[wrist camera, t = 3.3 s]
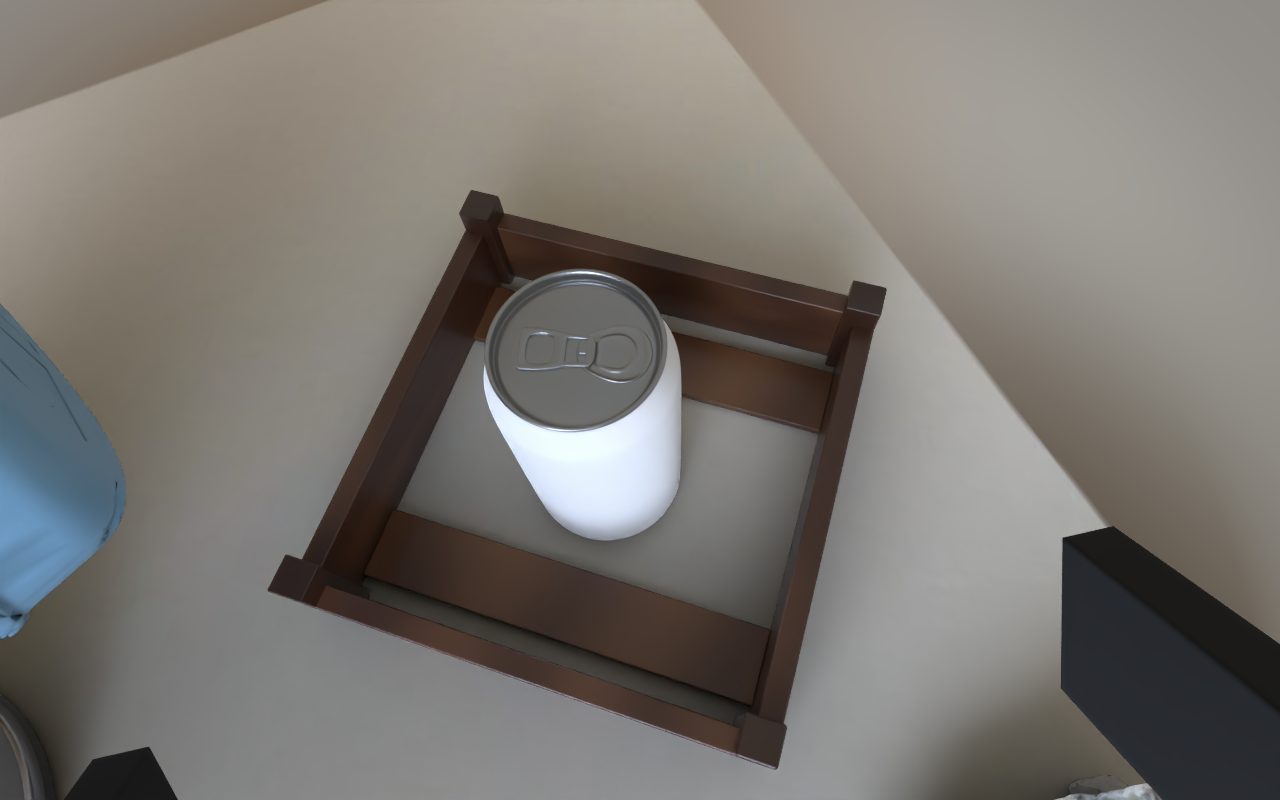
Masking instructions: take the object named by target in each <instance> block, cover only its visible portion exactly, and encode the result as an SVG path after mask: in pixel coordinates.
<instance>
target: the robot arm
mask: <svg viewBox="0 0 1280 800" xmlns="http://www.w3.org/2000/svg"><path fill="white" fill-rule="evenodd" d="M125 503H126V484H125V477H124V473H123V470H122V467H121V464H120V462H119V459H118V457H117V455H116V452H115V450H114V448H113V447H112V445H111V443H110V441H109V439H108V437H107V435H106V434H105V432H104V431H103V429H102V428H101V426H100V424H99V423H98V421H97V420H96V418H95V417H94V415H93V414H92V413H91V411H90V410H89V408H88V407H87V405H86V404H85V403H84V401H83V400H82V399H81V397H80V396H79V395H78V393H77V392H76V391H75V389H74V388H73V387H72V386H71V384H70V383H69V382H68V381H67V379H66V378H65V377H64V376H63V374H62V373H61V372H60V371H59V369H58V368H57V367H56V366H55V365H54V363H53V362H52V361H51V360H50V358H49V357H48V356H47V355H46V354H45V353H44V351H43V350H42V349H41V348H40V347H39V346H38V345H37V343H36V342H35V341H34V340H33V339H32V338H31V337H30V336H29V334H28V333H27V332H26V331H25V330H24V329H23V328H22V327H21V325H20V324H19V323H18V322H17V321H16V320H15V319H14V318H13V316H12V315H11V314H10V313H9V312H8V311H7V310H6V309H5V308H4V307H3V306H2V305H1V304H0V639H4V638H5V637H6V636H8V637H12V636H13V635H14V634H15V633H17V632H18V631H19V630H20V629H21V628H22V627H23V626H24V624H25V623H26V622H27V620H28V619H29V611H30V610H31V609H32V608H33V607H34V606H35V605H36V604H37V603H39V602H40V601H41V600H42V599H43V598H44V597H45V596H47V595H48V594H49V593H50V592H51V591H52V590H53V589H54V588H56V587H57V586H58V585H59V584H60V583H61V582H62V581H64V580H65V579H66V578H67V577H68V576H69V575H70V574H72V573H73V572H74V571H75V570H76V569H77V568H78V567H80V566H81V565H82V564H83V563H84V562H85V561H86V560H87V559H89V558H90V557H91V556H92V555H93V554H94V553H95V552H97V551H98V550H99V549H100V548H101V547H102V546H103V545H104V544H105V543H106V542H107V541H108V540H109V538H110V537H111V535H112V534H113V533H114V531H115V530H116V528H117V526H118V524H119V522H120V520H121V518H122V515H123V513H124V508H125ZM1061 689H1062V690H1063V691H1064V692H1065V693H1066V694H1067V696H1068V697H1069V698H1070V699H1071V700H1072V701H1073V702H1074V703H1075V704H1076V705H1077V707H1078V708H1079V709H1080V710H1081V711H1082V712H1083V713H1084V714H1085V715H1086V716H1087V718H1088V719H1089V720H1090V721H1091V722H1092V723H1093V724H1094V725H1095V726H1096V727H1097V729H1098V730H1099V731H1100V732H1101V733H1102V734H1103V735H1104V736H1105V737H1106V738H1107V740H1108V741H1109V742H1110V743H1111V744H1112V745H1113V746H1114V747H1115V748H1116V749H1117V751H1118V752H1119V753H1120V754H1121V755H1122V756H1123V757H1124V758H1125V759H1126V760H1127V762H1128V763H1129V764H1130V765H1131V766H1132V767H1133V768H1134V769H1135V770H1136V771H1137V773H1138V774H1139V775H1140V776H1141V777H1142V778H1143V779H1144V780H1145V781H1146V782H1147V784H1148V785H1149V786H1150V787H1151V788H1152V789H1153V790H1154V791H1155V792H1156V793H1157V795H1158V796H1159V797H1160V798H1161V799H1162V800H1280V644H1279V643H1277V642H1276V641H1275V640H1273V639H1272V638H1270V637H1269V636H1268V635H1266V634H1265V633H1263V632H1262V631H1260V630H1259V629H1258V628H1256V627H1255V626H1253V625H1252V624H1250V623H1249V622H1248V621H1246V620H1245V619H1243V618H1242V617H1241V616H1239V615H1238V614H1236V613H1235V612H1234V611H1232V610H1231V609H1229V608H1228V607H1227V606H1225V605H1224V604H1222V603H1221V602H1220V601H1218V600H1217V599H1215V598H1214V597H1213V596H1211V595H1210V594H1208V593H1207V592H1205V591H1204V590H1202V589H1201V588H1200V587H1198V586H1197V585H1196V584H1194V583H1193V582H1191V581H1190V580H1188V579H1187V578H1186V577H1184V576H1183V575H1181V574H1180V573H1179V572H1177V571H1176V570H1174V569H1173V568H1172V567H1170V566H1169V565H1167V564H1166V563H1164V562H1163V561H1161V560H1160V559H1159V558H1158V557H1156V556H1155V555H1153V554H1152V553H1150V552H1149V551H1148V550H1146V549H1145V548H1143V547H1142V546H1141V545H1139V544H1138V543H1136V542H1135V541H1134V540H1132V539H1130V538H1129V537H1128V536H1126V535H1125V534H1124V533H1122V532H1121V531H1119V530H1118V529H1116V528H1115V527H1114V526H1112V527H1108V528H1104V529H1099V530H1095V531H1090V532H1086V533H1082V534H1077V535H1073V536H1069V537H1064V538H1063V552H1062V637H1061ZM0 800H55V796H54V787H53V781H52V777H51V772H50V767H49V764H48V761H47V758H46V755H45V752H44V749H43V747H42V745H41V743H40V741H39V739H38V737H37V735H36V733H35V731H34V730H33V728H32V727H31V725H30V724H29V722H28V721H27V719H26V718H25V717H24V716H23V715H22V713H21V712H20V711H19V710H18V709H17V708H16V707H15V706H14V705H13V704H12V703H11V702H9V701H8V700H7V699H6V698H5V697H3V696H2V695H0ZM64 800H178V799H177V797H176V795H175V793H174V792H173V790H172V788H171V786H170V784H169V782H168V781H167V779H166V777H165V775H164V773H163V771H162V770H161V768H160V766H159V764H158V762H157V760H156V759H155V757H154V755H153V753H152V751H151V749H150V748H149V747H145V748H141V749H137V750H132V751H128V752H123V753H119V754H115V755H110V756H106V757H102V758H97V759H93V760H92V762H91V763H90V764H89V766H88V767H87V768H86V770H85V771H84V773H83V774H82V775H81V777H80V778H79V779H78V781H77V782H76V784H75V785H74V786H73V788H72V789H71V790H70V792H69V793H68V795H67V796H66V797H65V799H64Z"/></svg>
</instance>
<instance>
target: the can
mask: <svg viewBox="0 0 1280 800" xmlns="http://www.w3.org/2000/svg"><path fill="white" fill-rule="evenodd" d="M484 359H485V366H484V389H485V395H486V399H487V402H488V406H489V408H490V411H491V413H492V415H493V417H494V419H495V422H496V424H497V425H498V427H499V429H500V431H501V433H502V435H503V436H504V438H505V440H506V442H507V443H508V445H509V447H510V449H511V450H512V452H513V454H514V456H515V457H516V459H517V461H518V463H519V464H520V466H521V468H522V469H523V471H524V473H525V475H526V476H527V478H528V480H529V481H530V483H531V485H532V486H533V488H534V490H535V492H536V493H537V495H538V497H539V498H540V500H541V501H542V503H543V505H544V506H545V508H546V509H547V511H548V512H549V513H550V514H551V516H552V517H553V518H554V519H555V520H556V521H557V522H558V523H559V524H561V525H562V526H563V527H564V528H566V529H567V530H569V531H571V532H573V533H575V534H577V535H579V536H582V537H585V538H589V539H594V540H618V539H623V538H627V537H630V536H633V535H635V534H638V533H640V532H642V531H644V530H645V529H647V528H648V527H650V526H651V525H653V524H654V523H655V522H656V521H657V520H658V519H659V518H660V517H661V516H662V515H663V514H664V513H665V512H666V510H667V509H668V508H669V506H670V505H671V503H672V501H673V499H674V498H675V495H676V493H677V490H678V487H679V482H680V473H681V365H680V358H679V353H678V349H677V345H676V342H675V339H674V337H673V335H672V333H671V331H670V329H669V327H668V326H667V324H666V323H665V321H664V320H663V319H662V317H661V315H660V313H659V311H658V309H657V308H656V306H655V305H654V303H653V302H652V301H651V299H650V298H649V297H648V296H647V295H646V294H645V293H644V292H643V291H642V290H641V289H640V288H638V287H637V286H636V285H634V284H633V283H631V282H629V281H628V280H626V279H624V278H622V277H619V276H617V275H614V274H611V273H608V272H604V271H600V270H593V269H569V270H563V271H558V272H554V273H550V274H547V275H545V276H542V277H540V278H537V279H535V280H533V281H531V282H530V283H528V284H526V285H525V286H523V287H522V288H520V289H519V290H518V291H517V292H515V293H514V294H513V295H512V296H511V297H510V298H509V299H508V300H507V301H506V302H505V303H504V304H503V306H502V307H501V308H500V310H499V311H498V313H497V314H496V316H495V317H494V319H493V321H492V323H491V326H490V328H489V331H488V334H487V338H486V342H485V352H484Z"/></svg>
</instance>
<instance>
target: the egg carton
mask: <svg viewBox="0 0 1280 800" xmlns="http://www.w3.org/2000/svg"><path fill="white" fill-rule="evenodd" d="M1069 792H1070V795H1068V796H1065V797H1063V798H1059V799H1055V800H1162V799H1161V798H1160V797H1159V796H1158V795H1157V793H1156V792H1155V791H1154V790H1153V789H1152V788H1151V787H1150V786H1149V785H1148V784H1147V783H1145V784H1139V785H1133V786H1130V787H1129V786H1128V785H1126V784H1125V783H1124V782H1122V781H1121V780H1120V779H1118V778H1115V777H1113V776H1110V775H1109V776H1098V777H1091V778H1088V779H1082V780H1077V781H1075V782H1073V783H1072V784H1071V785H1070V786H1069Z"/></svg>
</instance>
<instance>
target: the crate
mask: <svg viewBox="0 0 1280 800" xmlns="http://www.w3.org/2000/svg"><path fill="white" fill-rule="evenodd" d="M459 214H460V217H461V219H462V221H463V224H464V226H465V228H466V231H465V233H464V235H463V237H462V239H461V241H460V243H459V245H458V247H457V249H456V251H455V253H454V255H453V257H452V259H451V261H450V263H449V265H448V267H447V269H446V271H445V273H444V275H443V277H442V279H441V281H440V283H439V285H438V287H437V289H436V291H435V293H434V295H433V297H432V299H431V301H430V303H429V305H428V307H427V309H426V311H425V313H424V315H423V317H422V319H421V321H420V323H419V325H418V327H417V329H416V331H415V333H414V335H413V337H412V339H411V341H410V343H409V345H408V347H407V349H406V351H405V353H404V355H403V357H402V359H401V362H400V364H399V366H398V368H397V370H396V372H395V374H394V376H393V378H392V380H391V382H390V384H389V386H388V388H387V390H386V392H385V394H384V396H383V398H382V400H381V402H380V404H379V406H378V408H377V410H376V412H375V414H374V416H373V418H372V420H371V422H370V424H369V426H368V428H367V430H366V432H365V434H364V436H363V438H362V440H361V442H360V444H359V446H358V448H357V450H356V452H355V454H354V456H353V458H352V460H351V462H350V464H349V466H348V468H347V470H346V472H345V474H344V476H343V478H342V480H341V482H340V484H339V486H338V488H337V490H336V492H335V494H334V496H333V498H332V500H331V502H330V504H329V506H328V508H327V510H326V512H325V514H324V516H323V518H322V520H321V522H320V524H319V526H318V528H317V530H316V532H315V534H314V536H313V538H312V540H311V542H310V544H309V546H308V548H307V550H306V552H305V554H304V556H303V558H302V560H301V559H298V558H295V557H293V556H290V555H285V557H284V559H283V561H282V563H281V565H280V567H279V568H278V570H277V572H276V574H275V576H274V578H273V580H272V582H271V584H270V586H269V588H268V592H271V593H274V594H277V595H280V596H282V597H285V598H288V599H291V600H294V601H296V602H299V603H302V604H305V605H308V606H310V607H313V608H316V609H319V610H321V611H324V612H327V613H330V614H333V615H336V616H338V617H341V618H344V619H347V620H350V621H353V622H356V623H358V624H361V625H364V626H367V627H370V628H373V629H375V630H378V631H381V632H384V633H387V634H390V635H392V636H395V637H398V638H401V639H404V640H407V641H410V642H412V643H415V644H418V645H421V646H424V647H427V648H429V649H432V650H435V651H438V652H441V653H444V654H446V655H449V656H452V657H455V658H458V659H461V660H464V661H466V662H469V663H472V664H475V665H478V666H481V667H483V668H486V669H489V670H492V671H495V672H498V673H500V674H503V675H506V676H509V677H512V678H515V679H518V680H520V681H523V682H526V683H529V684H532V685H535V686H537V687H540V688H543V689H546V690H549V691H552V692H554V693H557V694H560V695H563V696H566V697H569V698H572V699H574V700H577V701H580V702H583V703H586V704H589V705H591V706H594V707H597V708H600V709H603V710H606V711H609V712H611V713H614V714H617V715H620V716H623V717H626V718H628V719H631V720H634V721H637V722H640V723H643V724H645V725H648V726H651V727H654V728H657V729H660V730H663V731H665V732H668V733H671V734H674V735H677V736H680V737H682V738H685V739H688V740H691V741H694V742H697V743H699V744H702V745H705V746H708V747H711V748H714V749H717V750H719V751H722V752H725V753H728V754H731V755H734V756H736V757H739V758H742V759H745V760H748V761H751V762H753V763H756V764H759V765H762V766H765V767H768V768H771V769H777V768H778V765H779V761H780V757H781V752H782V748H783V743H784V739H785V735H786V730H787V726H786V725H785V724H784V720H785V715H786V711H787V707H788V702H789V698H790V694H791V689H792V685H793V681H794V676H795V672H796V667H797V663H798V659H799V654H800V650H801V646H802V641H803V637H804V633H805V628H806V624H807V619H808V615H809V611H810V606H811V602H812V598H813V593H814V589H815V585H816V580H817V576H818V572H819V567H820V563H821V558H822V554H823V550H824V545H825V541H826V537H827V532H828V528H829V524H830V519H831V515H832V510H833V506H834V502H835V497H836V493H837V489H838V484H839V480H840V476H841V471H842V467H843V462H844V458H845V454H846V449H847V445H848V441H849V436H850V432H851V428H852V423H853V419H854V415H855V410H856V406H857V401H858V397H859V393H860V388H861V384H862V380H863V375H864V371H865V367H866V362H867V358H868V353H869V349H870V345H871V340H872V336H873V332H874V329H875V327H876V325H877V322H878V320H879V318H880V316H881V312H882V308H883V304H884V299H885V295H886V290H887V289H886V288H884V287H880V286H875V285H871V284H867V283H863V282H859V281H853V283H852V285H851V288H850V290H849V293H848V296H846V295H842V294H838V293H834V292H830V291H826V290H821V289H817V288H813V287H809V286H805V285H801V284H796V283H792V282H788V281H784V280H780V279H776V278H771V277H767V276H763V275H759V274H755V273H751V272H746V271H742V270H738V269H734V268H730V267H726V266H721V265H717V264H713V263H709V262H705V261H701V260H697V259H692V258H688V257H684V256H680V255H676V254H672V253H667V252H663V251H659V250H655V249H651V248H647V247H642V246H638V245H634V244H630V243H626V242H622V241H617V240H613V239H609V238H605V237H601V236H597V235H592V234H588V233H584V232H580V231H576V230H572V229H568V228H563V227H559V226H555V225H551V224H547V223H543V222H538V221H534V220H530V219H526V218H522V217H518V216H513V215H509V214H505V213H504V211H503V208H502V205H501V202H500V199H499V197H498V196H495V195H490V194H486V193H482V192H478V191H474V190H471V191H470V193H469V195H468V197H467V199H466V201H465V203H464V205H463V207H462V209H461V211H460V213H459ZM569 269H593V270H600V271H604V272H608V273H611V274H614V275H617V276H619V277H622V278H624V279H626V280H628V281H629V282H631V283H633V284H634V285H636V286H637V287H638V288H640V289H641V290H642V291H643V292H644V293H645V294H646V295H647V296H648V297H649V298H650V299H651V301H652V302H653V303H654V305H655V306H656V308H657V309H658V311H659V313H663V314H667V315H671V316H675V317H679V318H683V319H687V320H691V321H694V322H698V323H702V324H706V325H710V326H714V327H718V328H722V329H726V330H730V331H734V332H738V333H742V334H745V335H749V336H753V337H757V338H761V339H765V340H769V341H773V342H777V343H781V344H785V345H789V346H793V347H797V348H800V349H804V350H808V351H812V352H816V353H820V354H824V355H827V357H826V361H825V364H826V365H829V366H833V367H835V370H834V373H830V372H827V371H823V370H819V369H815V368H811V367H807V366H803V365H799V364H796V363H792V362H788V361H784V360H780V359H776V358H772V357H768V356H765V355H761V354H757V353H753V352H749V351H745V350H741V349H737V348H734V347H730V346H726V345H722V344H718V343H714V342H710V341H707V340H703V339H699V338H695V337H691V336H687V335H683V334H679V333H676V332H672V331H671V333H672V335H673V337H674V339H675V342H676V345H677V349H678V353H679V358H680V365H681V396H682V397H686V398H690V399H693V400H697V401H701V402H704V403H708V404H712V405H715V406H719V407H723V408H726V409H730V410H734V411H737V412H741V413H745V414H748V415H752V416H756V417H759V418H763V419H767V420H770V421H774V422H778V423H781V424H785V425H789V426H792V427H796V428H800V429H803V430H807V431H811V432H814V433H819V435H818V439H817V443H816V447H815V451H814V455H813V460H812V464H811V468H810V472H809V476H808V480H807V484H806V488H805V492H804V496H803V500H802V504H801V508H800V512H799V516H798V520H797V524H796V528H795V533H794V537H793V541H792V545H791V549H790V553H789V557H788V561H787V565H786V569H785V573H784V577H783V581H782V585H781V589H780V593H779V597H778V601H777V605H776V610H775V614H774V618H773V622H772V626H771V630H770V629H767V628H764V627H760V626H757V625H754V624H751V623H748V622H745V621H742V620H739V619H735V618H732V617H729V616H726V615H723V614H720V613H717V612H714V611H710V610H707V609H704V608H701V607H698V606H695V605H692V604H689V603H686V602H682V601H679V600H676V599H673V598H670V597H667V596H664V595H661V594H657V593H654V592H651V591H648V590H645V589H642V588H639V587H636V586H632V585H629V584H626V583H623V582H620V581H617V580H614V579H611V578H607V577H604V576H601V575H598V574H595V573H592V572H589V571H586V570H582V569H579V568H576V567H573V566H570V565H567V564H564V563H561V562H557V561H554V560H551V559H548V558H545V557H542V556H539V555H536V554H533V553H529V552H526V551H523V550H520V549H517V548H514V547H511V546H508V545H504V544H501V543H498V542H495V541H492V540H489V539H486V538H483V537H479V536H476V535H473V534H470V533H467V532H464V531H461V530H458V529H454V528H451V527H448V526H445V525H442V524H439V523H436V522H433V521H429V520H426V519H423V518H420V517H417V516H414V515H411V514H408V513H405V512H401V511H398V510H396V509H397V507H398V505H399V502H400V500H401V498H402V496H403V494H404V492H405V489H406V487H407V485H408V483H409V481H410V479H411V476H412V474H413V472H414V470H415V468H416V466H417V463H418V461H419V459H420V457H421V455H422V453H423V450H424V448H425V446H426V444H427V442H428V440H429V437H430V435H431V433H432V431H433V429H434V427H435V424H436V422H437V420H438V418H439V416H440V414H441V411H442V409H443V407H444V405H445V403H446V401H447V398H448V396H449V394H450V392H451V390H452V388H453V385H454V383H455V381H456V379H457V377H458V375H459V372H460V370H461V368H462V366H463V364H464V362H465V359H466V357H467V355H468V353H469V351H470V349H471V346H472V344H473V342H474V340H477V341H481V342H484V343H485V342H486V338H487V334H488V331H489V328H490V326H491V323H492V321H493V319H494V317H495V316H496V314H497V313H498V311H499V310H500V308H501V307H502V306H503V304H504V303H505V302H506V301H507V300H508V299H509V298H510V297H511V296H512V295H513V294H514V293H515V292H517V291H513V290H509V289H505V288H501V287H499V286H500V284H501V281H502V282H506V283H511V282H512V280H513V278H514V276H518V277H522V278H526V279H530V280H535V279H537V278H540V277H542V276H545V275H547V274H550V273H554V272H558V271H563V270H569ZM365 576H368V577H371V578H374V579H377V580H380V581H383V582H386V583H389V584H392V585H395V586H398V587H401V588H404V589H407V590H410V591H413V592H415V593H418V594H421V595H424V596H427V597H430V598H433V599H436V600H439V601H442V602H445V603H448V604H451V605H454V606H457V607H460V608H463V609H466V610H469V611H472V612H474V613H477V614H480V615H483V616H486V617H489V618H492V619H495V620H498V621H501V622H504V623H507V624H510V625H513V626H516V627H519V628H522V629H525V630H528V631H530V632H533V633H536V634H539V635H542V636H545V637H548V638H551V639H554V640H557V641H560V642H563V643H566V644H569V645H572V646H575V647H578V648H581V649H584V650H587V651H589V652H592V653H595V654H598V655H601V656H604V657H607V658H610V659H613V660H616V661H619V662H622V663H625V664H628V665H631V666H634V667H637V668H640V669H643V670H645V671H648V672H651V673H654V674H657V675H660V676H663V677H666V678H669V679H672V680H675V681H678V682H681V683H684V684H687V685H690V686H693V687H696V688H699V689H701V690H704V691H707V692H710V693H713V694H716V695H719V696H722V697H725V698H728V699H731V700H734V701H737V702H740V703H743V704H746V705H749V706H752V707H751V711H750V712H746V713H743V714H741V715H738V716H736V718H735V721H734V725H732V724H729V723H726V722H723V721H720V720H717V719H714V718H711V717H708V716H706V715H703V714H700V713H697V712H694V711H691V710H688V709H685V708H682V707H679V706H677V705H674V704H671V703H668V702H665V701H662V700H659V699H656V698H653V697H650V696H648V695H645V694H642V693H639V692H636V691H633V690H630V689H627V688H624V687H621V686H619V685H616V684H613V683H610V682H607V681H604V680H601V679H598V678H595V677H592V676H590V675H587V674H584V673H581V672H578V671H575V670H572V669H569V668H566V667H563V666H561V665H558V664H555V663H552V662H549V661H546V660H543V659H540V658H537V657H534V656H532V655H529V654H526V653H523V652H520V651H517V650H514V649H511V648H508V647H505V646H503V645H500V644H497V643H494V642H491V641H488V640H485V639H482V638H479V637H476V636H474V635H471V634H468V633H465V632H462V631H459V630H456V629H453V628H450V627H447V626H445V625H442V624H439V623H436V622H433V621H430V620H427V619H424V618H421V617H418V616H416V615H413V614H410V613H407V612H404V611H401V610H398V609H395V608H392V607H389V606H387V605H384V604H381V603H378V602H375V601H372V600H369V599H368V596H369V594H370V592H371V591H370V590H369V589H367V588H365V587H362V586H361V585H362V583H363V581H364V578H365Z"/></svg>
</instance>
